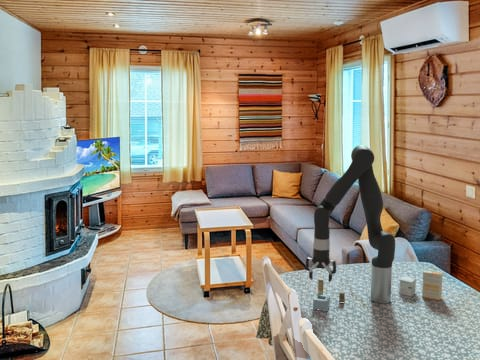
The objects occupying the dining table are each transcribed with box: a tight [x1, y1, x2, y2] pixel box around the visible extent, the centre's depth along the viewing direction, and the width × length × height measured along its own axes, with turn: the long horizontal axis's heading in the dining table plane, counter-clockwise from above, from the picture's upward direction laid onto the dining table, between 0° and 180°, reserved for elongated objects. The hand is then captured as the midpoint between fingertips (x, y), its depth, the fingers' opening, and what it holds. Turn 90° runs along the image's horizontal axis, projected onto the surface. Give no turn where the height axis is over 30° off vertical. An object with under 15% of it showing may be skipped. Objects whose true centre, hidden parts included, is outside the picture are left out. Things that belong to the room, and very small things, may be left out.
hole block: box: [312, 293, 331, 311], centre depth 204 cm, size 6×6×5 cm
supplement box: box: [421, 268, 444, 301], centre depth 213 cm, size 8×5×13 cm, turn 58°
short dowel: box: [338, 291, 346, 303], centre depth 210 cm, size 2×2×4 cm
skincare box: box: [398, 276, 417, 297], centre depth 219 cm, size 6×6×7 cm
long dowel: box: [317, 278, 324, 295], centre depth 213 cm, size 2×2×10 cm
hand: (320, 280), depth 211 cm, fingers open, 8 cm apart
